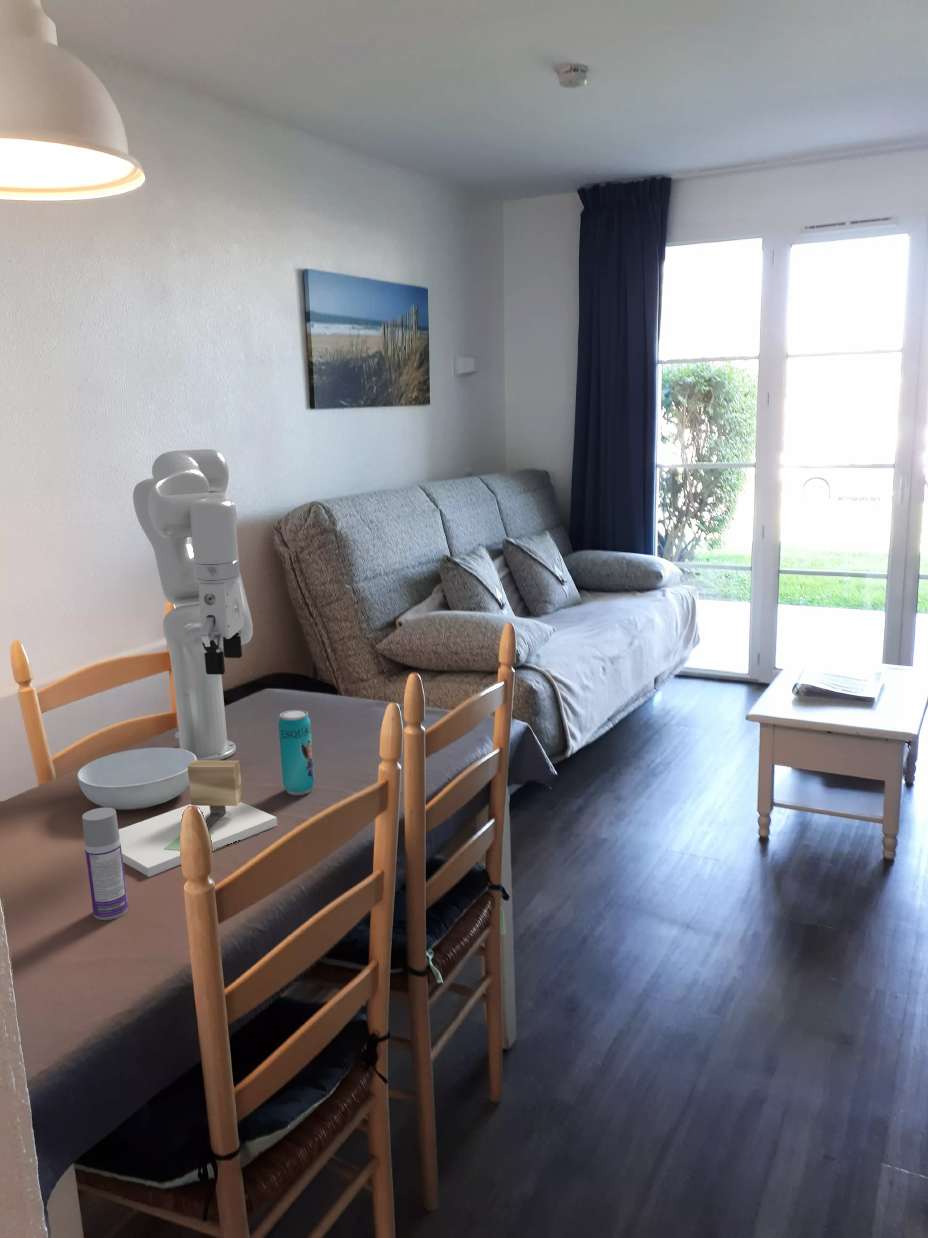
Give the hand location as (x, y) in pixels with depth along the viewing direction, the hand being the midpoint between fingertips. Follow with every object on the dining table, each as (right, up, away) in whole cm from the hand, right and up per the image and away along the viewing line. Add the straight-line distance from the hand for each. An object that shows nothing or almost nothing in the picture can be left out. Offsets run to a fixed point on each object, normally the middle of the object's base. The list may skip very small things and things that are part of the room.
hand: (224, 665), depth 171 cm
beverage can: (+12, -24, +9) cm, 28 cm away
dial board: (-4, -28, -9) cm, 30 cm away
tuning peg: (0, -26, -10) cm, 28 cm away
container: (-8, -34, -33) cm, 48 cm away
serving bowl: (-17, -25, +7) cm, 32 cm away
